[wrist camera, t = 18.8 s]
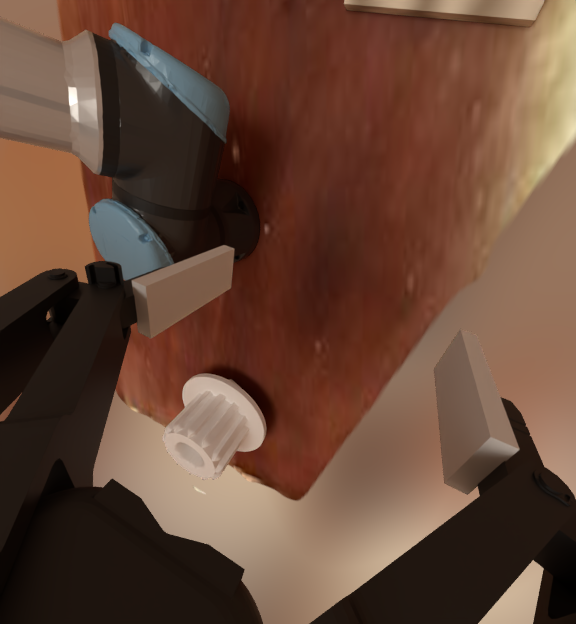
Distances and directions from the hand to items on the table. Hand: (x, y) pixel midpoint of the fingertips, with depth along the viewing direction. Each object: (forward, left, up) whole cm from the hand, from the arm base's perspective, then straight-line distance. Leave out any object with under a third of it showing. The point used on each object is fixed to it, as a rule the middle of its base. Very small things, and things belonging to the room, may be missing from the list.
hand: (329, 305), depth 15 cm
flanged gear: (-21, -55, -32) cm, 67 cm away
